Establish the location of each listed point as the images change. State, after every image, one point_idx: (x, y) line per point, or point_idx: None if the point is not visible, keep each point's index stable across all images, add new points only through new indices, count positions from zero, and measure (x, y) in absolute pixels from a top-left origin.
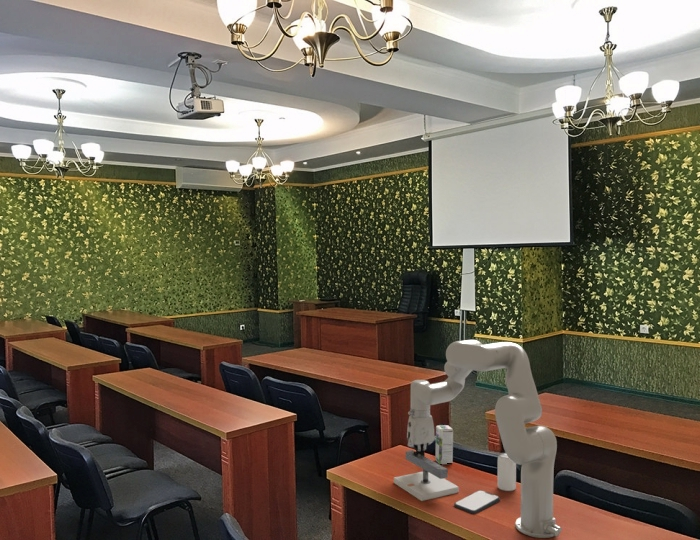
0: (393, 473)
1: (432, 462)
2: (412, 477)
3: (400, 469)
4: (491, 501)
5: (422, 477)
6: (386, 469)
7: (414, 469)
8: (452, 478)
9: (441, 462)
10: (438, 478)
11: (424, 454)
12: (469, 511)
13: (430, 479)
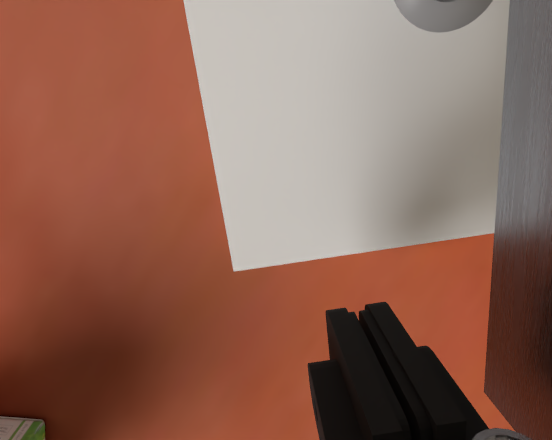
0: (480, 362)
1: None
2: (493, 150)
3: None
4: None
5: (400, 113)
6: None
7: (291, 387)
8: (40, 110)
9: (18, 432)
10: (245, 15)
11: (316, 398)
12: None
13: (350, 21)
